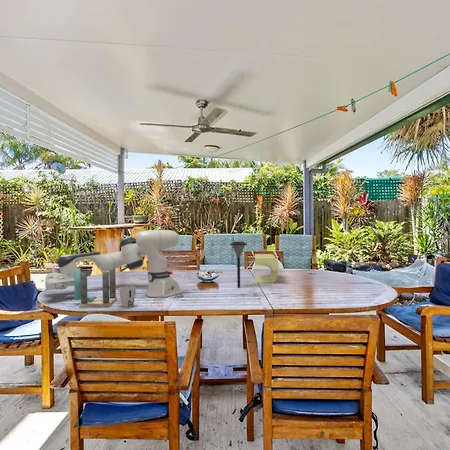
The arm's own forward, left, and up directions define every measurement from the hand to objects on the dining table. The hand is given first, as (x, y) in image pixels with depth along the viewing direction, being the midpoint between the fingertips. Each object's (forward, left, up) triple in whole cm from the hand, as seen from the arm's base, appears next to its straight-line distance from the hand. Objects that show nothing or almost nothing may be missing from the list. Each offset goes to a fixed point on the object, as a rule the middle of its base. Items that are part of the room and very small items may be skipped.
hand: (71, 284), depth 192 cm
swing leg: (-2, +11, -7) cm, 13 cm away
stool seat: (-8, +16, -10) cm, 20 cm away
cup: (-16, +32, -10) cm, 37 cm away
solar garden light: (-91, +43, -10) cm, 101 cm away
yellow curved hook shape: (-123, +41, -10) cm, 130 cm away
